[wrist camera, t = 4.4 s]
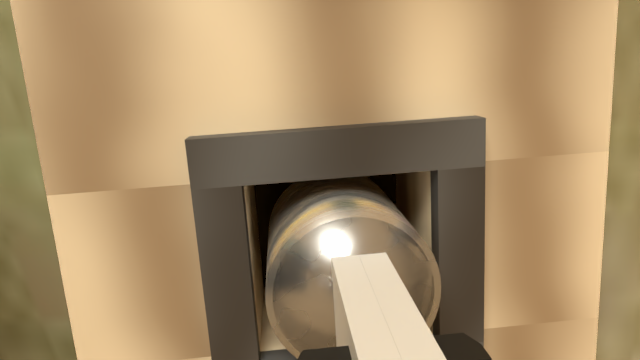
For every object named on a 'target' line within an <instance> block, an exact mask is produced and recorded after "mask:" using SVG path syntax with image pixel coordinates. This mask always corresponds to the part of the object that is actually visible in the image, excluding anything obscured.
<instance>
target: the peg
mask: <svg viewBox="0 0 640 360" xmlns="http://www.w3.org/2000/svg"><path fill="white" fill-rule="evenodd" d="M375 253H386V254H387V255H388V257H389V259H390V261H391V262H392V264H393V266H394V268H395V270H396V271H397V273H398V275H399V277H400V278H401V280H402V282H403V284H404V285H405V287H406V289H407V291H408V292H409V294H410V296H411V298H412V300H413V301H414V303H415V305H416V307H417V308H418V310H419V312H420V314H421V315H422V317H423V319H424V321H425V322H426V324H427V326H428V328H429V329H430V328H431V326H432V324H433V322H434V320H435V317H436V314H437V311H438V308H439V303H440V298H441V278H440V273H439V268H438V265H437V262H436V259H435V257H434V255H433V253H432V251H431V249H430V248H429V246H428V245H427V243H426V242H425V241H424V239H423V238H422V237H421V236H420V235H419V233H418V232H417V231H416V230H415V229H414V227H413V226H412V225H411V224H410V223H409V221H408V220H407V219H406V218H405V217H404V216H403V214H402V213H401V212H400V211H399V210H398V208H397V207H396V206H395V205H394V204H393V202H392V201H391V200H390V199H389V198H388V196H387V195H386V194H385V193H384V192H383V191H382V189H381V188H380V187H379V186H378V185H377V184H375V183H374V182H373V181H371V180H370V179H369V178H367V177H365V176H359V177H347V178H334V179H322V180H309V181H297V182H294V183H292V184H291V185H290V186H289V187H288V188H287V189H286V190H285V191H284V192H283V193H282V195H281V196H280V197H279V199H278V200H277V202H276V204H275V206H274V208H273V211H272V213H271V217H270V221H269V230H268V249H267V269H266V288H265V304H266V310H267V315H268V318H269V321H270V325H271V327H272V329H273V331H274V333H275V335H276V336H277V338H278V339H279V341H280V342H281V344H282V345H283V346H284V347H285V348H286V349H287V350H288V351H289V352H290V353H291V354H292V355H294V356H295V357H296V358H297V359H298V357H299V356H300V354H301V352H302V351H303V350H309V349H319V348H329V347H337V345H336V329H335V313H334V297H333V281H332V265H331V257H340V256H352V255H363V254H375Z"/></svg>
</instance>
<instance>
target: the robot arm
mask: <svg viewBox="0 0 640 360" xmlns="http://www.w3.org/2000/svg"><path fill="white" fill-rule="evenodd" d="M331 265H332V281H333V297H334V313H335V329H336V345H337V347H329V348H319V349H309V350H303V351H302V352H301V354H300V356H299V357H298V359H297V360H492V358H491V357H490V355H489V354H488V353H487V351H486V350H485V349H484V347H483V346H482V344H480V343H479V342H477V341H476V340H474V339H472V338H471V337H469V336H468V335H466V334H465V333H454V334H444V335H434V336H433V335H432V333H431V331H430V329H429V328H428V326H427V324H426V322H425V321H424V319H423V317H422V315H421V314H420V312H419V310H418V308H417V307H416V305H415V303H414V301H413V300H412V298H411V296H410V294H409V292H408V291H407V289H406V287H405V285H404V284H403V282H402V280H401V278H400V277H399V275H398V273H397V271H396V270H395V268H394V266H393V264H392V262H391V261H390V259H389V257H388V255H387V254H386V253H375V254H363V255H352V256H340V257H331Z"/></svg>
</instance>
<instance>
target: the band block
mask: <svg viewBox="0 0 640 360" xmlns="http://www.w3.org/2000/svg"><path fill="white" fill-rule="evenodd" d="M10 3H11V9H12V14H13V19H14V25H15V30H16V35H17V41H18V46H19V51H20V57H21V62H22V67H23V73H24V78H25V83H26V89H27V94H28V99H29V105H30V110H31V115H32V121H33V126H34V131H35V137H36V142H37V147H38V153H39V158H40V163H41V168H42V174H43V179H44V184H45V190H46V195H47V200H48V206H49V211H50V216H51V222H52V227H53V232H54V238H55V243H56V248H57V254H58V259H59V264H60V270H61V275H62V280H63V286H64V291H65V296H66V302H67V307H68V312H69V317H70V323H71V328H72V333H73V339H74V344H75V349H76V355H77V360H297V358H296V357H295V356H294V355H292V354H291V353H290V352H289V351H288V350H287V349H286V348H285V347H284V346H283V345H282V344H281V342H280V341H279V339H278V338H277V336H276V335H275V333H274V331H273V329H272V327H271V325H270V321H269V318H268V315H267V310H266V304H265V288H266V287H264V283H263V273H262V262H261V251H260V241H259V230H258V220H257V209H256V198H255V188H254V185H259V184H272V183H284V182H297V181H309V180H322V179H334V178H347V177H359V176H372V175H385V174H395V177H396V207H397V208H398V210H399V211H400V212H401V213H402V214H403V216H404V217H405V218H406V219H407V220H408V221H409V223H410V224H411V225H412V226H413V227H414V229H415V230H416V231H417V232H418V233H419V235H420V236H421V237H422V238H423V239H424V241H425V242H426V243H427V245H428V246H429V248H430V249H431V251H432V253H433V255H434V257H435V259H436V262H437V265H438V268H439V273H440V278H441V298H440V303H439V308H438V311H437V314H436V317H435V320H434V322H433V324H432V326H431V328H430V331H431V333H432V335H433V336H434V335H444V334H454V333H465V334H466V335H468V336H469V337H471V338H472V339H474V340H476V341H477V342H479V343H480V344H482V346H483V347H484V349H485V350H486V351H487V353H488V354H489V355H490V357H491V358H492V360H596V345H597V330H598V314H599V298H600V282H601V267H602V251H603V235H604V219H605V204H606V188H607V172H608V156H609V141H610V125H611V109H612V93H613V78H614V62H615V46H616V30H617V15H618V0H10Z"/></svg>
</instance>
